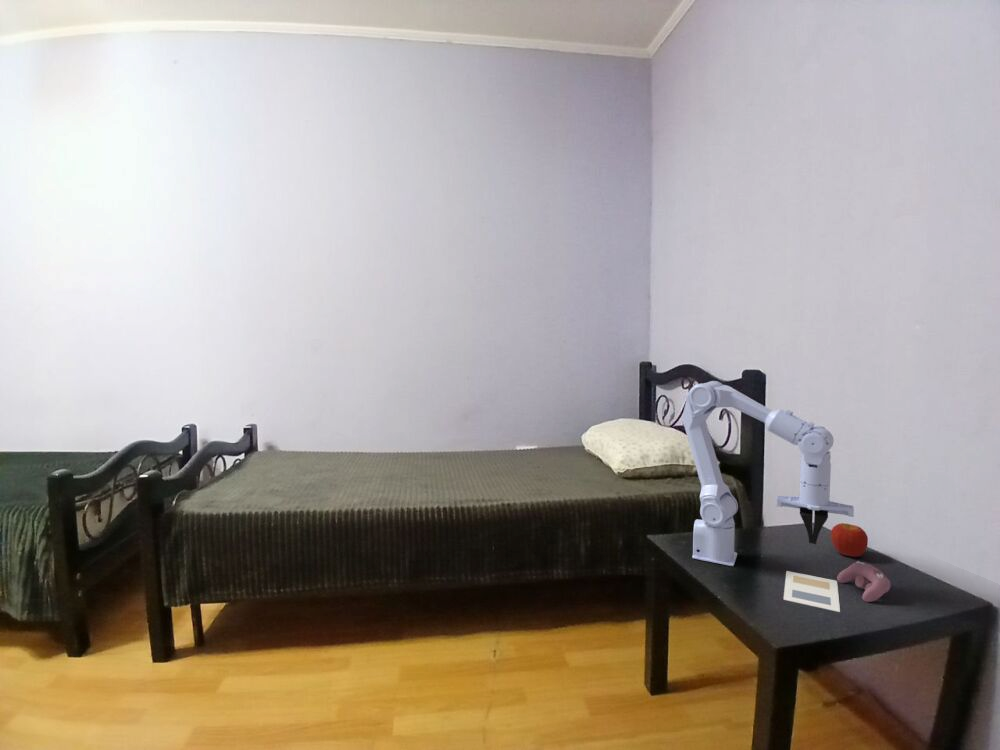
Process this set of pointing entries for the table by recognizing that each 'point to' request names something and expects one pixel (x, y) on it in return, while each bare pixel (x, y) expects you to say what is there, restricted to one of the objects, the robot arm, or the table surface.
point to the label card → (811, 591)
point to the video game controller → (866, 580)
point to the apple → (849, 539)
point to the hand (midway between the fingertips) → (812, 542)
